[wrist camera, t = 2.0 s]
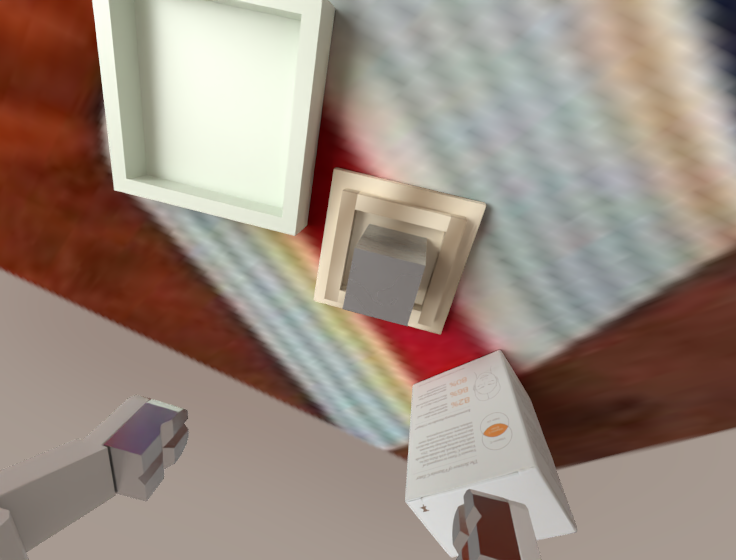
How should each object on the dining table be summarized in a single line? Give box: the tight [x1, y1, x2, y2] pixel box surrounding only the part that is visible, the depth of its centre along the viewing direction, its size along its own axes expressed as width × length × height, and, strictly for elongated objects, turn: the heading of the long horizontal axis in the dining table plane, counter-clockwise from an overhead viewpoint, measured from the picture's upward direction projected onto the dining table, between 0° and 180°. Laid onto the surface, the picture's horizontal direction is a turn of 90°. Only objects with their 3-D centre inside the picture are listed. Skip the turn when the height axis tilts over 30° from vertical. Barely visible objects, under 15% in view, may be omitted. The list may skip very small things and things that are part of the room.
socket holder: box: [314, 168, 486, 334], centre depth 25 cm, size 10×10×2 cm
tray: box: [92, 0, 335, 236], centre depth 22 cm, size 13×13×2 cm
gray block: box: [343, 224, 427, 326], centre depth 22 cm, size 4×4×5 cm
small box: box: [405, 350, 577, 557], centre depth 24 cm, size 8×6×10 cm
